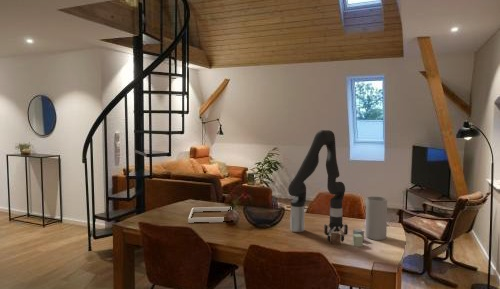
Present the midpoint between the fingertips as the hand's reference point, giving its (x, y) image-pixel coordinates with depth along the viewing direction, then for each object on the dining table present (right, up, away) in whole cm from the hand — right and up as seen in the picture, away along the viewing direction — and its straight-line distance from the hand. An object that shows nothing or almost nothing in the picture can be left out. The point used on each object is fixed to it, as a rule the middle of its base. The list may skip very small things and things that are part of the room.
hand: (335, 241), depth 216 cm
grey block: (+16, -1, +6) cm, 17 cm away
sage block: (+12, -1, -3) cm, 13 cm away
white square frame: (-83, +3, +61) cm, 103 cm away
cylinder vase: (+28, -1, +11) cm, 30 cm away
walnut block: (0, -1, 0) cm, 1 cm away
